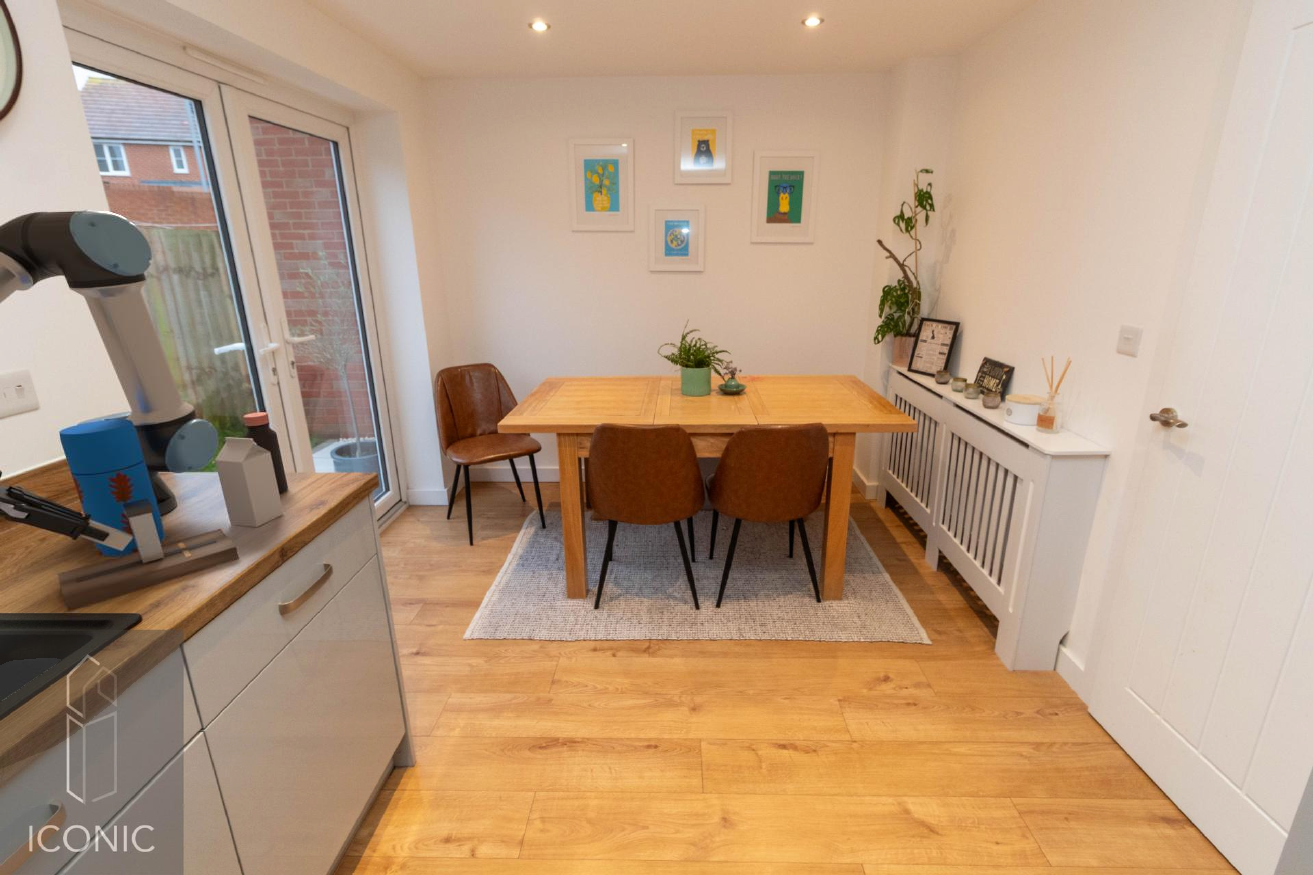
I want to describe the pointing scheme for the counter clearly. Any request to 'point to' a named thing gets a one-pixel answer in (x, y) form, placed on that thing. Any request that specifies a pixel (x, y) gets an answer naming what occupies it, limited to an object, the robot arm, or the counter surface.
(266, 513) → the milk carton
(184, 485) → the counter surface
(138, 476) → the thermos
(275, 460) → the bottle
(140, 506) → the fader handle
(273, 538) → the counter surface
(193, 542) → the console
